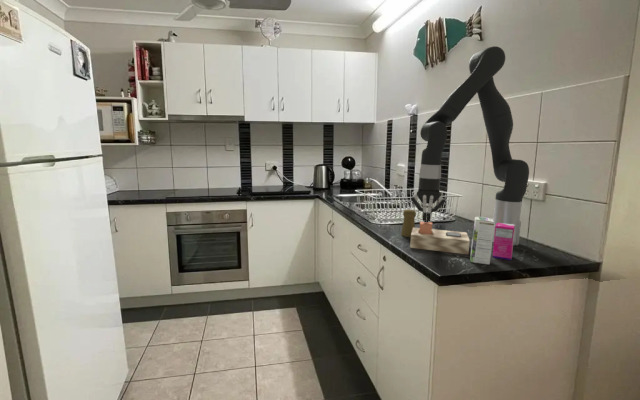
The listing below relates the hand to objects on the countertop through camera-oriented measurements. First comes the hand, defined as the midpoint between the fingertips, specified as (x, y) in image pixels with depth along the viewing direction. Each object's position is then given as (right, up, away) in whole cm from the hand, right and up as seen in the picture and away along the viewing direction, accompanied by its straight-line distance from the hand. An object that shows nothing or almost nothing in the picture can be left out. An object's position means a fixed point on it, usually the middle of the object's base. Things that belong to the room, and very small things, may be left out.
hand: (426, 222), depth 126 cm
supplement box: (+23, -12, -10) cm, 28 cm away
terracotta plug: (0, -5, +1) cm, 5 cm away
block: (+5, -9, 0) cm, 10 cm away
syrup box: (+13, -12, -15) cm, 24 cm away
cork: (-3, -7, +15) cm, 17 cm away
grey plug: (+9, -9, -2) cm, 13 cm away
